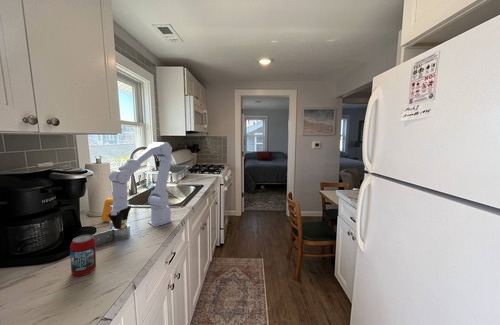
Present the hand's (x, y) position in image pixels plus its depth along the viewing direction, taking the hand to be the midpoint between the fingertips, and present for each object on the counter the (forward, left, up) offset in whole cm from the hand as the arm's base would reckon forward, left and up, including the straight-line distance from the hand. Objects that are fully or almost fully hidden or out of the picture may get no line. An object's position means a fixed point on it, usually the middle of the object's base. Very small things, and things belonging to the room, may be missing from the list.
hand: (120, 225), depth 98 cm
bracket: (-6, -26, -6) cm, 27 cm away
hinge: (+4, -3, -6) cm, 8 cm away
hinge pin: (0, 0, -6) cm, 6 cm away
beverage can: (+18, +18, -6) cm, 26 cm away
